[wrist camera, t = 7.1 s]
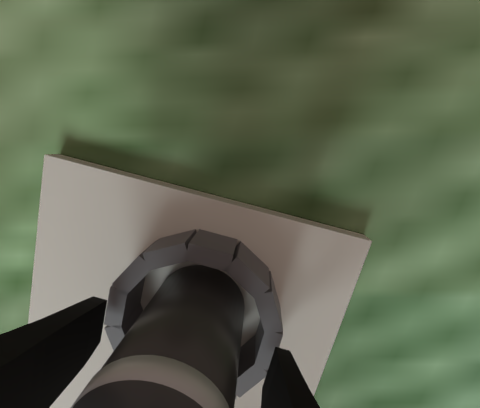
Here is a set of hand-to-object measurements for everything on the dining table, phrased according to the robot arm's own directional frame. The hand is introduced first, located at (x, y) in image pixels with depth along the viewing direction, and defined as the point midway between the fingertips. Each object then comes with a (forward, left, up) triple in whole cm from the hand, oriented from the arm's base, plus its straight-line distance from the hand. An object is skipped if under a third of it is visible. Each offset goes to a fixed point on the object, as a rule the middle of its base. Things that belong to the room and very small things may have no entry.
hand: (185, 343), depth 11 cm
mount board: (-4, +1, -4) cm, 6 cm away
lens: (0, 0, -3) cm, 3 cm away
